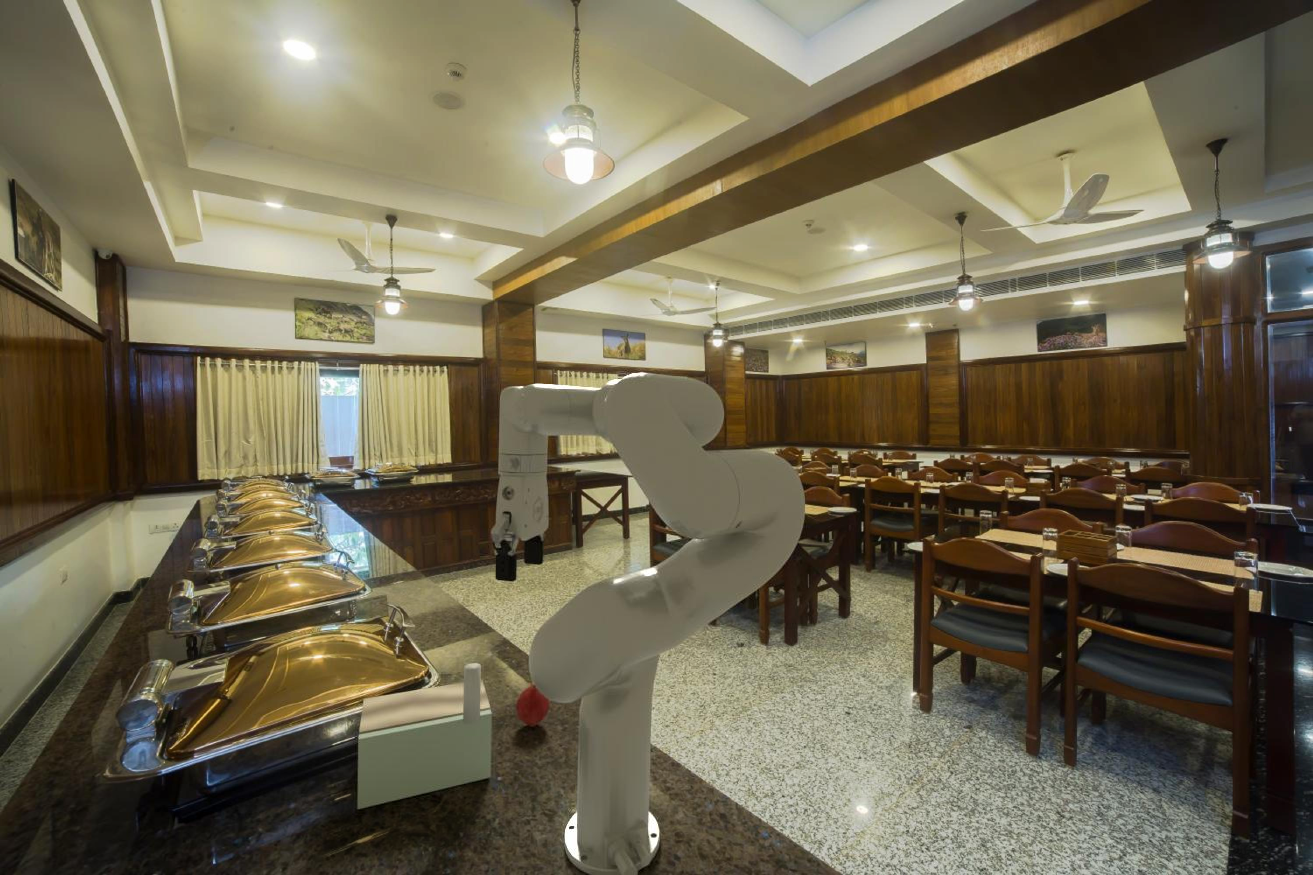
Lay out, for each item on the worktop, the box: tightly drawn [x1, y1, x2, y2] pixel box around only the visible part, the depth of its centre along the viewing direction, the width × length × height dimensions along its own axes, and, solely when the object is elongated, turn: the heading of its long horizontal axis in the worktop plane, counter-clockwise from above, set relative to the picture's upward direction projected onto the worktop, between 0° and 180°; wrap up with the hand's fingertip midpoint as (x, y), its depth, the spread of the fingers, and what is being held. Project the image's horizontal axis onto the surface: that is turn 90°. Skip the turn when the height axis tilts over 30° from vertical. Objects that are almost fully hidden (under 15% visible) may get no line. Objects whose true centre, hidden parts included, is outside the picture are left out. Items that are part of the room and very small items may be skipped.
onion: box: [515, 682, 550, 728], centre depth 99 cm, size 6×6×8 cm
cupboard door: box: [357, 662, 493, 810], centre depth 80 cm, size 3×18×18 cm, turn 115°
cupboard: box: [358, 678, 491, 736], centre depth 86 cm, size 10×18×10 cm, turn 115°
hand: (520, 571), depth 88 cm, fingers open, 9 cm apart
